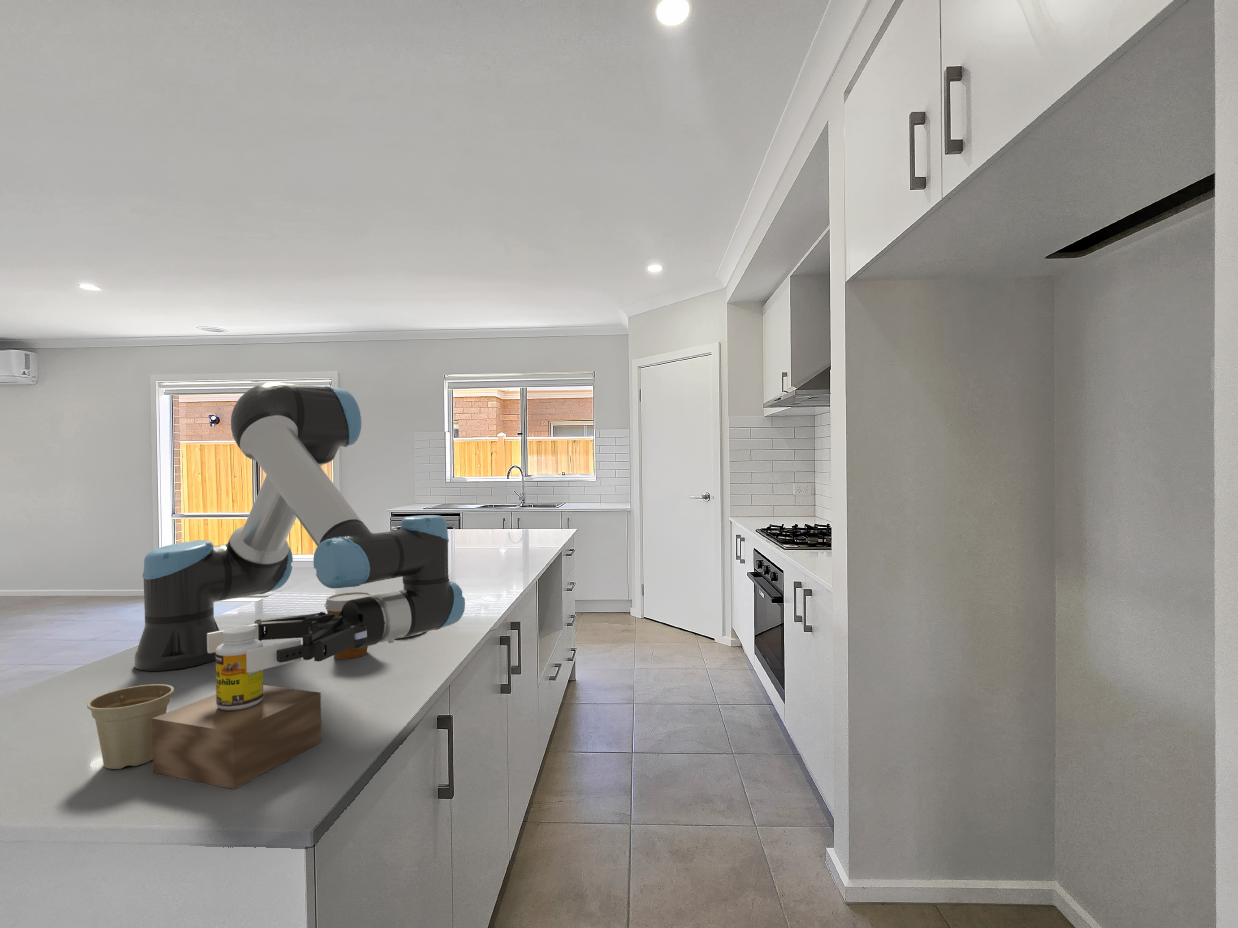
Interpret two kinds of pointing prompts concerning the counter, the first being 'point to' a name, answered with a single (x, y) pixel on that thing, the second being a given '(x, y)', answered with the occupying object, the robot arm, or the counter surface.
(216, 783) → the block
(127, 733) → the flower pot
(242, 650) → the supplement bottle
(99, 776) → the counter surface
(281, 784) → the counter surface
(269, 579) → the robot arm
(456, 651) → the counter surface
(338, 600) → the disposable coffee cup
